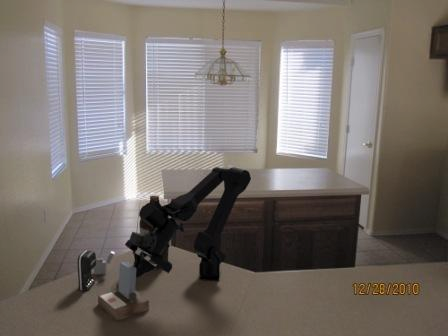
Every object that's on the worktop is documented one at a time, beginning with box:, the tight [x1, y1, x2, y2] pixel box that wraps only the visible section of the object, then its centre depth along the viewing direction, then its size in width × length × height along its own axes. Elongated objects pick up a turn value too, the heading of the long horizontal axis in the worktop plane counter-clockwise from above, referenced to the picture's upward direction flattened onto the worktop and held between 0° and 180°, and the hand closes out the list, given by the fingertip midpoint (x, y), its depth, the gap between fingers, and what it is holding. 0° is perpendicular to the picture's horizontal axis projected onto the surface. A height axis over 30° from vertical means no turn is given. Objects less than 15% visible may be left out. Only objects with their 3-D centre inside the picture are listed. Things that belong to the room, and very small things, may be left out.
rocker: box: [118, 261, 137, 299], centre depth 132 cm, size 2×6×10 cm, turn 41°
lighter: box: [93, 250, 116, 275], centre depth 154 cm, size 7×2×8 cm, turn 91°
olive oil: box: [138, 195, 170, 269], centre depth 161 cm, size 11×11×25 cm
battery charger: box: [76, 249, 97, 291], centre depth 144 cm, size 7×4×11 cm, turn 174°
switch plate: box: [100, 292, 126, 309], centre depth 130 cm, size 4×9×1 cm, turn 41°
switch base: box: [97, 282, 150, 322], centre depth 132 cm, size 10×12×5 cm
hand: (130, 279), depth 133 cm, fingers closed, pressing on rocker
